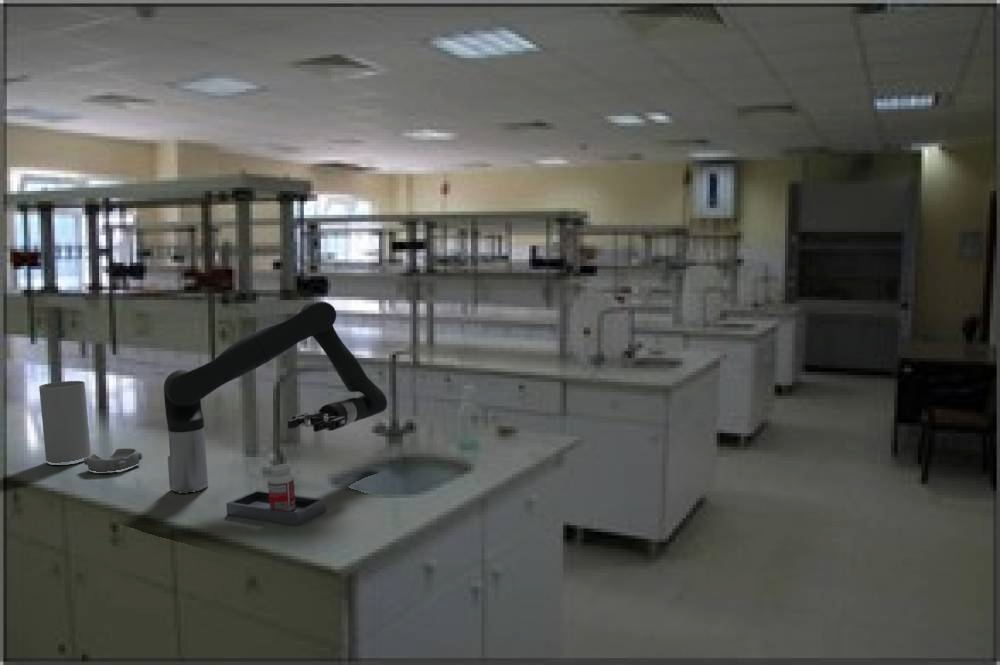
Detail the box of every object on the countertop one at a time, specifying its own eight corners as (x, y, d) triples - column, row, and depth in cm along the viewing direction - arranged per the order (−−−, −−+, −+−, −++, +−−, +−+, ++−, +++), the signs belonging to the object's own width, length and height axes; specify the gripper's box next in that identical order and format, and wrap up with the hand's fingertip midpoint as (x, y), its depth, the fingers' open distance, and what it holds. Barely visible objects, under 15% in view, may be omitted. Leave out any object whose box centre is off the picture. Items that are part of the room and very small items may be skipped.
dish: (78, 473, 226) (76, 457, 225) (116, 461, 238) (115, 445, 238) (113, 478, 220) (112, 461, 220) (151, 465, 233) (149, 449, 233)
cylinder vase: (79, 453, 248) (73, 379, 245) (98, 459, 240) (92, 383, 238) (39, 463, 237) (31, 385, 235) (57, 469, 230) (50, 389, 227)
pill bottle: (287, 503, 191) (284, 461, 190) (300, 509, 187) (297, 466, 186) (265, 510, 186) (262, 467, 185) (278, 515, 182) (275, 471, 181)
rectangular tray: (227, 514, 187) (226, 503, 186) (257, 500, 197) (256, 489, 196) (298, 526, 178) (297, 513, 178) (326, 510, 188) (325, 499, 188)
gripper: (317, 400, 217) (280, 410, 202) (358, 403, 211) (322, 415, 197) (318, 425, 218) (280, 437, 203) (358, 429, 212) (323, 442, 197)
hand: (301, 426), depth 200 cm, fingers open, 8 cm apart
